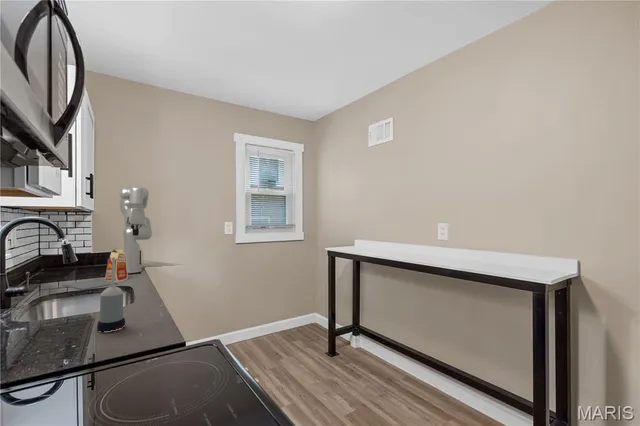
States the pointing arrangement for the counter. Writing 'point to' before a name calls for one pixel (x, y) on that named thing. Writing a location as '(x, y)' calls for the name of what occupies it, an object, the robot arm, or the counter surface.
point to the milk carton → (117, 266)
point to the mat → (88, 284)
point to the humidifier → (111, 306)
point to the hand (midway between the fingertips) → (135, 235)
